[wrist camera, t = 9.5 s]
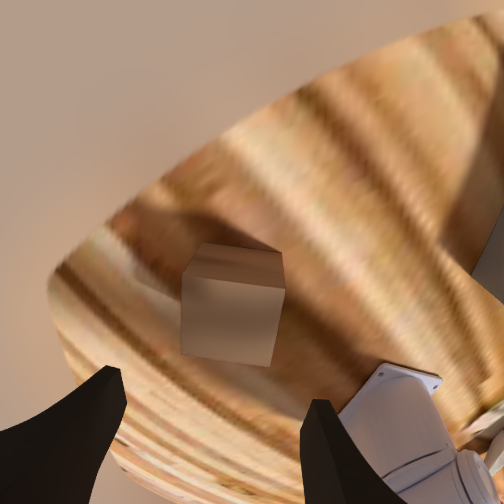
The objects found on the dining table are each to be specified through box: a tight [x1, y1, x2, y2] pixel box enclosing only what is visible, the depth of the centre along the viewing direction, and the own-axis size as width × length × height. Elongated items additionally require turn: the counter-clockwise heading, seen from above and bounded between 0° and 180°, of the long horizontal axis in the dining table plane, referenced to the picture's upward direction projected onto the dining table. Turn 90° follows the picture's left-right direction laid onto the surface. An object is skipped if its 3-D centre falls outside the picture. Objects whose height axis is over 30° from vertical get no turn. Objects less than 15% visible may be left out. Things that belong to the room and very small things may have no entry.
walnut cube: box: [181, 242, 286, 367], centre depth 18 cm, size 5×5×5 cm
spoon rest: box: [484, 429, 504, 477], centre depth 26 cm, size 24×12×7 cm, turn 127°
